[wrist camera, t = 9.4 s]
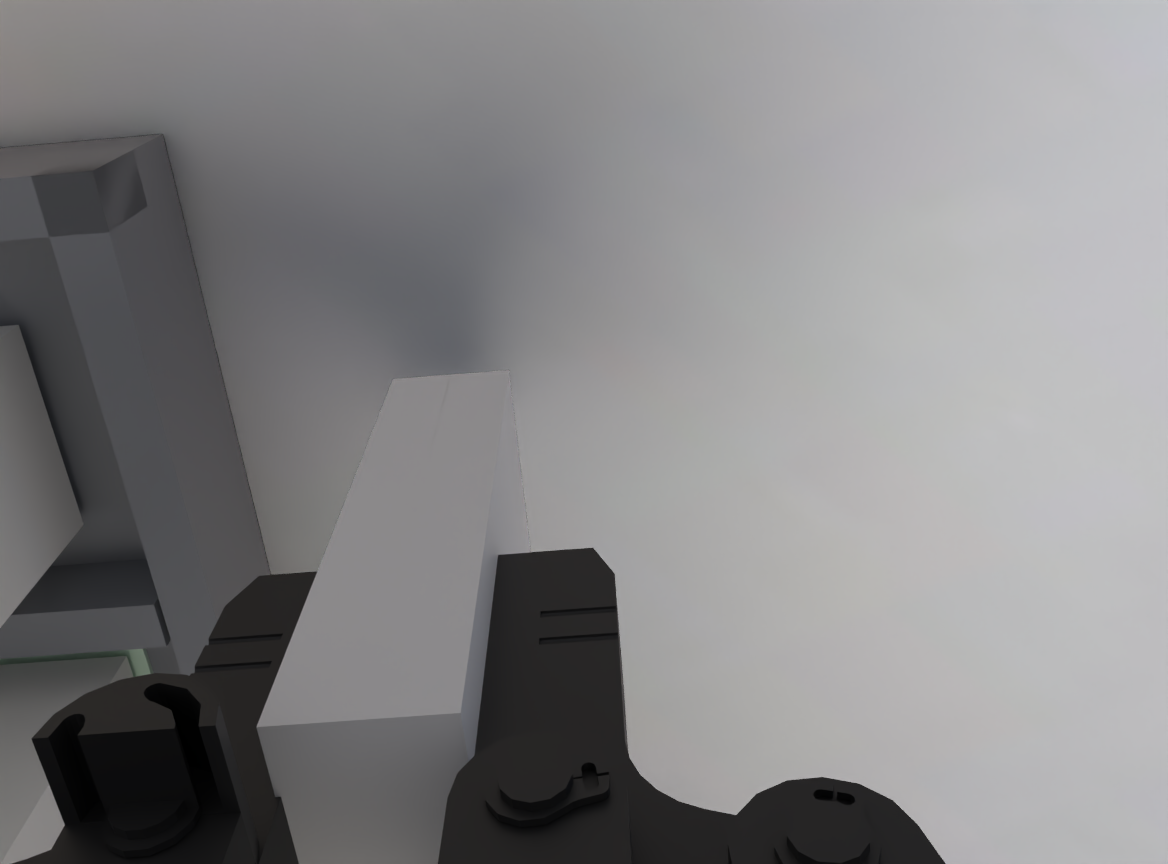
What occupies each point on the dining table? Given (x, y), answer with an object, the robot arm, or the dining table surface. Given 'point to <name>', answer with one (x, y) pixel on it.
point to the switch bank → (123, 408)
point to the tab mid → (8, 757)
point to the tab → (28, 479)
